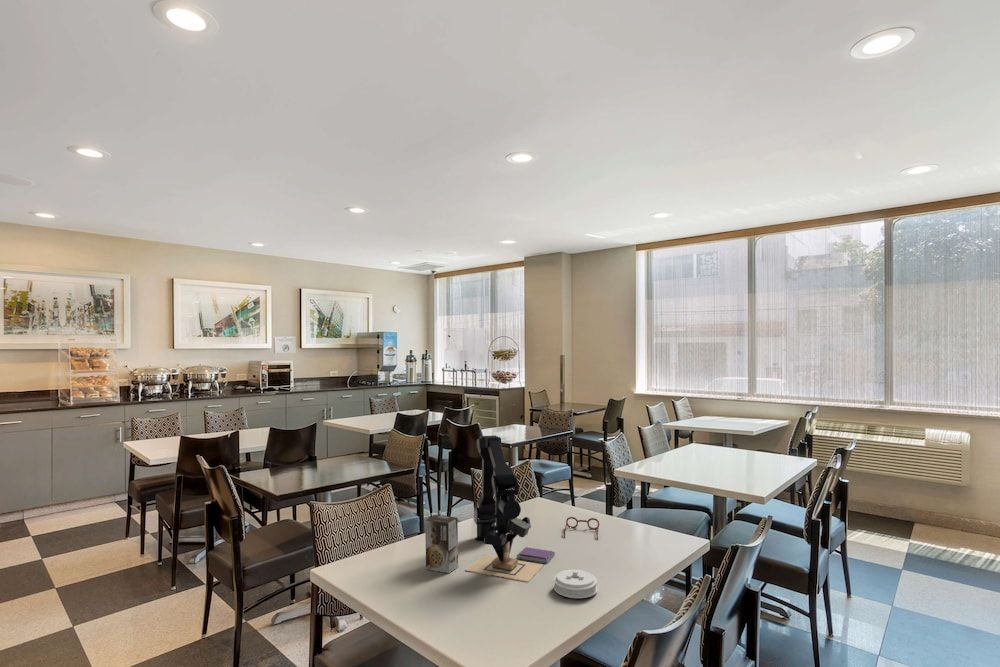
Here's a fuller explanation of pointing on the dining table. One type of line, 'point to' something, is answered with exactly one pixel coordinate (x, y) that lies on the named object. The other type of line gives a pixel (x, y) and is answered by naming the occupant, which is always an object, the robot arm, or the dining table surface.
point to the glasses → (581, 521)
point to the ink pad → (536, 555)
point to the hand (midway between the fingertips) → (504, 558)
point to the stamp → (505, 561)
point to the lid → (575, 584)
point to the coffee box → (441, 543)
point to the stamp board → (521, 572)
